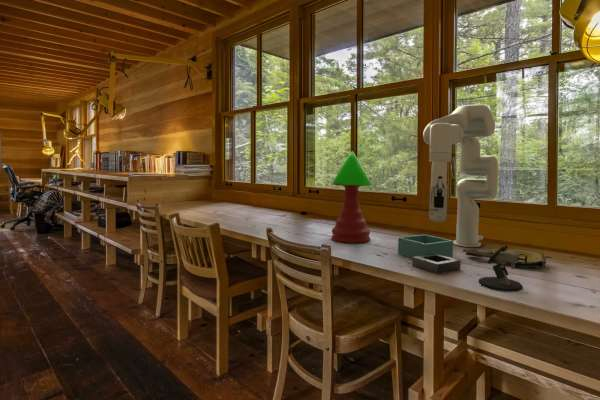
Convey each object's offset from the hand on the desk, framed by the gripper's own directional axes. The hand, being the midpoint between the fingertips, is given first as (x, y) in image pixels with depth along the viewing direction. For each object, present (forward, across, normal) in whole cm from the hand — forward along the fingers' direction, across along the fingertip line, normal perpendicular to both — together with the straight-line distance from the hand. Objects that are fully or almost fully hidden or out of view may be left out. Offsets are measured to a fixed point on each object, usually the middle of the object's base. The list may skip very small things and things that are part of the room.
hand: (438, 206), depth 143 cm
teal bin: (+23, -18, -4) cm, 30 cm away
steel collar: (+23, +1, 0) cm, 23 cm away
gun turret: (+23, +15, +16) cm, 32 cm away
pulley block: (+24, -16, +27) cm, 39 cm away
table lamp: (+24, -42, -39) cm, 62 cm away
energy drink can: (+6, 0, 0) cm, 6 cm away
